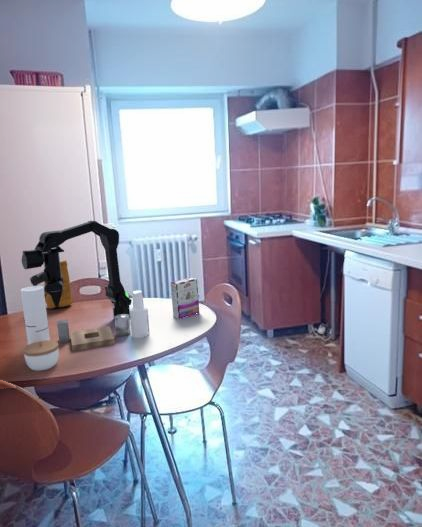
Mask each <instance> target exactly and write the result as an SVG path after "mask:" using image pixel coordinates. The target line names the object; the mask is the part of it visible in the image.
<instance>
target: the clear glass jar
mask: <svg viewBox="0 0 422 527" xmlns="http://www.w3.org/2000/svg"><path fill="white" fill-rule="evenodd" d="M114 325H115V335H116V336H117V337H119V338H121V337H127V336H130V335H132V332H131V320H130V318H129V315H128V314H119V315H116V316H115V318H114Z"/></svg>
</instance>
